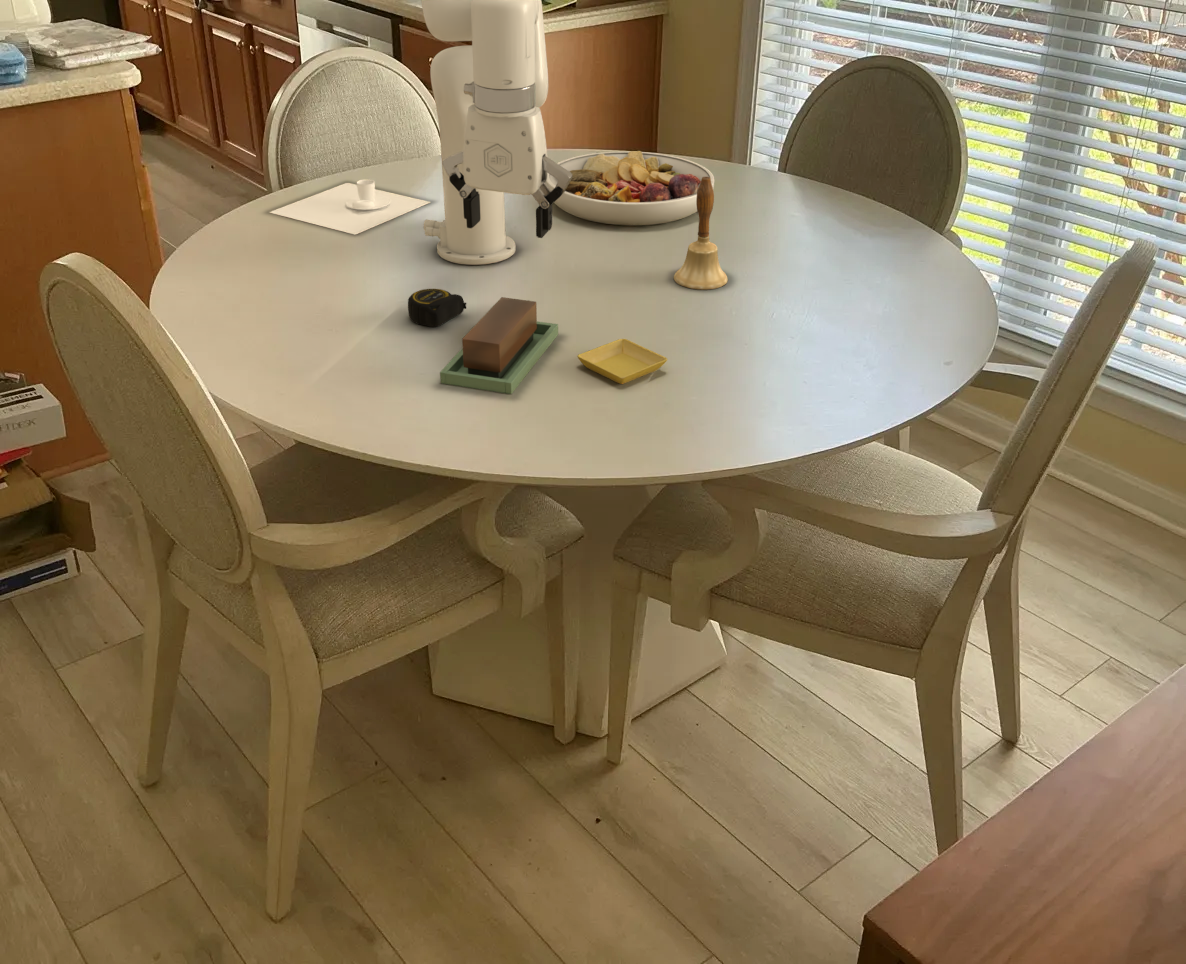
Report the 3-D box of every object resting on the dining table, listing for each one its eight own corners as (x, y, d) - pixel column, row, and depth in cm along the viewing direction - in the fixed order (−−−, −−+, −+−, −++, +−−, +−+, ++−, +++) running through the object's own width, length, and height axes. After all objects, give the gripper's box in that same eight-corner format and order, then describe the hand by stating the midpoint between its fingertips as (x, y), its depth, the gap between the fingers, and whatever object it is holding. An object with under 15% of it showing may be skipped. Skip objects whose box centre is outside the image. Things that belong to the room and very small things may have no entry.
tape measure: (436, 335, 160) (434, 310, 158) (398, 323, 163) (396, 298, 161) (467, 318, 165) (466, 293, 163) (430, 307, 168) (428, 283, 166)
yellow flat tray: (622, 350, 156) (623, 336, 155) (668, 372, 151) (669, 357, 150) (575, 369, 151) (575, 355, 150) (621, 392, 146) (621, 378, 145)
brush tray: (440, 386, 147) (439, 372, 146) (493, 328, 162) (492, 314, 161) (511, 397, 145) (511, 383, 144) (558, 337, 160) (558, 323, 159)
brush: (464, 378, 148) (461, 338, 145) (502, 334, 159) (501, 296, 156) (500, 383, 147) (499, 344, 144) (537, 338, 158) (536, 301, 155)
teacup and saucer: (367, 216, 200) (364, 193, 198) (332, 208, 204) (330, 185, 202) (400, 202, 207) (398, 180, 204) (366, 194, 210) (364, 172, 208)
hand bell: (724, 292, 174) (732, 187, 165) (670, 287, 175) (675, 183, 167) (730, 271, 181) (738, 170, 172) (677, 267, 182) (682, 166, 174)
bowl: (510, 204, 206) (509, 161, 202) (617, 167, 226) (618, 126, 222) (642, 245, 190) (643, 198, 186) (745, 201, 210) (748, 158, 205)
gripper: (427, 97, 141) (435, 231, 151) (561, 112, 137) (561, 248, 147) (451, 82, 147) (457, 211, 157) (581, 96, 143) (579, 227, 153)
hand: (508, 229), depth 152 cm, fingers open, 9 cm apart
